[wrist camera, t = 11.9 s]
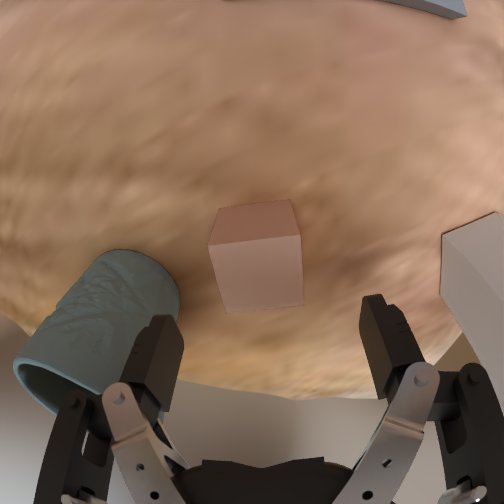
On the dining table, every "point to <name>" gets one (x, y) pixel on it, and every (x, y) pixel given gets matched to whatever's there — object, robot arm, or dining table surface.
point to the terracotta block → (257, 257)
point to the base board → (436, 7)
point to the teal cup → (95, 328)
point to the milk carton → (478, 290)
